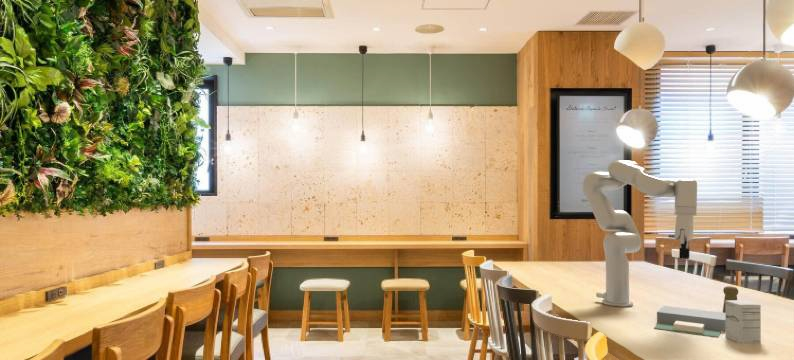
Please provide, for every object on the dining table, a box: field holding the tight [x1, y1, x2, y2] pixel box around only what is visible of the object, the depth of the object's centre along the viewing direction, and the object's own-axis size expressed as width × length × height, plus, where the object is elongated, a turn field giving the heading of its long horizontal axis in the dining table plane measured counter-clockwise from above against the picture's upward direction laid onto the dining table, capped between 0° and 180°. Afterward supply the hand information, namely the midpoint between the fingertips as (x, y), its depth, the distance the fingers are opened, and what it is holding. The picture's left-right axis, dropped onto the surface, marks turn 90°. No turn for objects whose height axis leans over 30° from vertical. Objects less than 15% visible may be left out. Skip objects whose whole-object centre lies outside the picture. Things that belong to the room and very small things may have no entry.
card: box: [674, 321, 704, 333], centre depth 192 cm, size 9×6×2 cm, turn 55°
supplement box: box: [725, 299, 762, 344], centre depth 180 cm, size 7×7×13 cm
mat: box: [653, 323, 722, 338], centre depth 193 cm, size 20×10×1 cm, turn 54°
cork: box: [721, 285, 739, 313], centre depth 220 cm, size 6×6×11 cm
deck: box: [656, 305, 726, 332], centre depth 204 cm, size 22×14×4 cm, turn 54°
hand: (684, 258), depth 210 cm, fingers closed
